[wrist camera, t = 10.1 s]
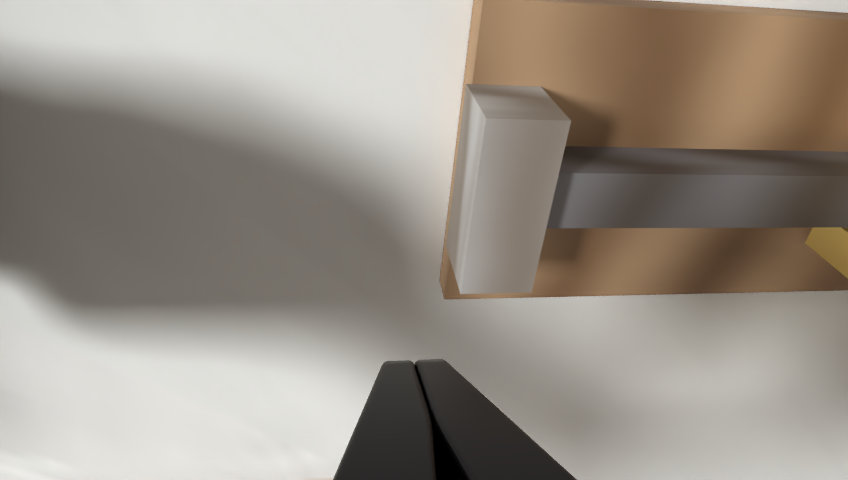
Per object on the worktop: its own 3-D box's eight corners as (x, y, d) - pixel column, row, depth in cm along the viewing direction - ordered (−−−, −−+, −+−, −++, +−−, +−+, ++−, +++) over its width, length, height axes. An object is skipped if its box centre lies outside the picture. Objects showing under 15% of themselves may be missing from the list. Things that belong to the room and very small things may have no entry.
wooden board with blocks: (434, 280, 24) (468, 414, 18) (468, -11, 18) (533, 54, 12) (925, 272, 27) (1079, 381, 22) (1090, 28, 21) (1362, 92, 16)
